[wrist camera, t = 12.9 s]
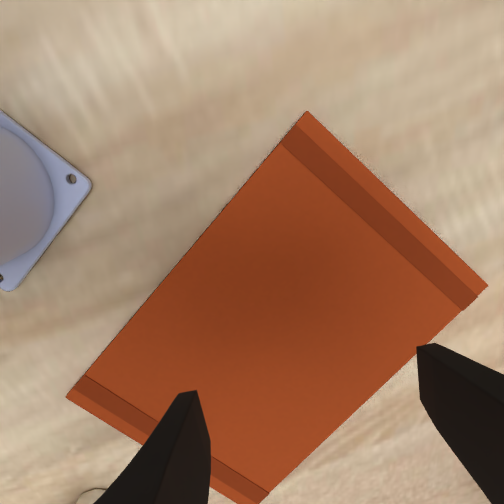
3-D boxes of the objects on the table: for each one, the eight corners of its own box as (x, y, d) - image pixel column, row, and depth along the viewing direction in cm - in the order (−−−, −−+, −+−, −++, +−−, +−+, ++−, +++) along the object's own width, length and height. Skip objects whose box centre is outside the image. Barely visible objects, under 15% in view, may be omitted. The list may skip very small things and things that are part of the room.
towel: (67, 394, 23) (64, 398, 23) (306, 110, 20) (307, 110, 19) (249, 507, 27) (249, 512, 26) (485, 283, 23) (489, 286, 22)
